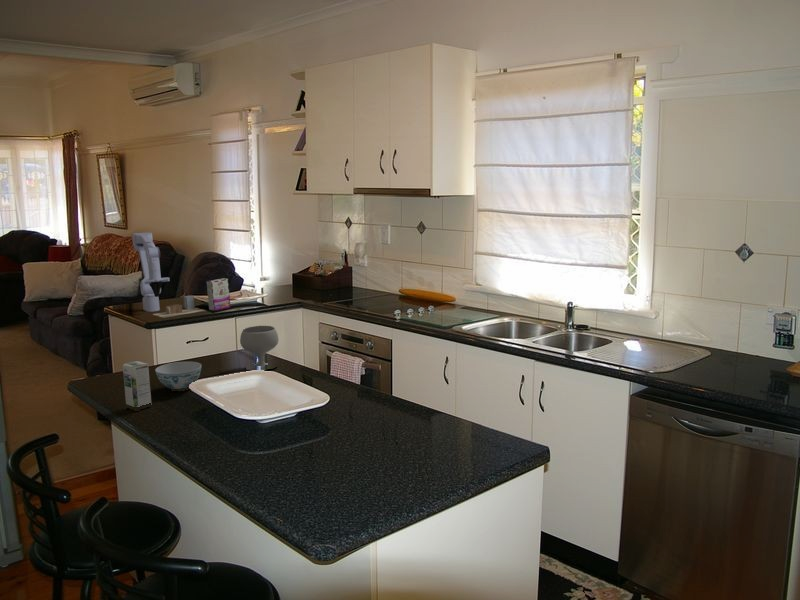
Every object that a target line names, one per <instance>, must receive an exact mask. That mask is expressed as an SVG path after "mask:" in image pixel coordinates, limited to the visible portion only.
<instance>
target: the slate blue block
mask: <svg viewBox="0 0 800 600" xmlns="http://www.w3.org/2000/svg"><path fill="white" fill-rule="evenodd" d="M182 297H183V307H184V308H183V309H186V310H191V309H195V308H196V307H195V297H194V295H184V296H182Z"/></svg>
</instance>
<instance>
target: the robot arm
mask: <svg viewBox="0 0 800 600" xmlns="http://www.w3.org/2000/svg"><path fill="white" fill-rule="evenodd" d="M131 237H132V245H133V248H134V250H135V251H137V252H138V255H139V260H140V264H141V268H142V273H143V279H142V280H140V282H139V286H140V293H141V296H143V297H142V308H143V311H145V312H150V313H151V312H158V311H161V308H160V306H161V305H160V299H159V298H160V294H161V293H162V286H163V283H165V282H171V281H170V279H171V278H170V277H167V276H166V277H162V275H161V265H160V263H161V262H160V258H161V251H160V248H159V246H156V245H155V242H154V241H153V240H154V239H153V233H152V232H151V231H149V232H148V231H147V232H133V233H132V236H131Z"/></svg>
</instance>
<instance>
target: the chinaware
mask: <svg viewBox="0 0 800 600" xmlns="http://www.w3.org/2000/svg"><path fill="white" fill-rule="evenodd" d="M154 370H155V374H156V376H157V378H158V380H159V382H160V383H161V384H162V385H163V386H165V387H166V388H168V389H170V388H171V389H181V388H187V387H188V385H189V384H191V383H192V382H195V381H196V382H197V380H198V379H199V377H200V375H201V372H202V363H200V362H197V361H177V362H176V361H175V362H171V363H166V364H163V365H160V366H157V367H156V368H155V369H154ZM196 382H195V383H196Z"/></svg>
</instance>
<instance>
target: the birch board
mask: <svg viewBox="0 0 800 600" xmlns="http://www.w3.org/2000/svg"><path fill="white" fill-rule="evenodd" d="M206 311H207V310H206V309H203V308H202V309H201V308H198V307H195V309H191V310H186V309H184V308H182V313H176V314H167V313H166V311H163V312H157V313H156V312H155V313H152V315H153V316H157V317H160V318H163V319H164V318H169V317H170V318H171V317H177V316H182V315H188V314H189V315H190V314H195V313H201V312H206Z"/></svg>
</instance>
